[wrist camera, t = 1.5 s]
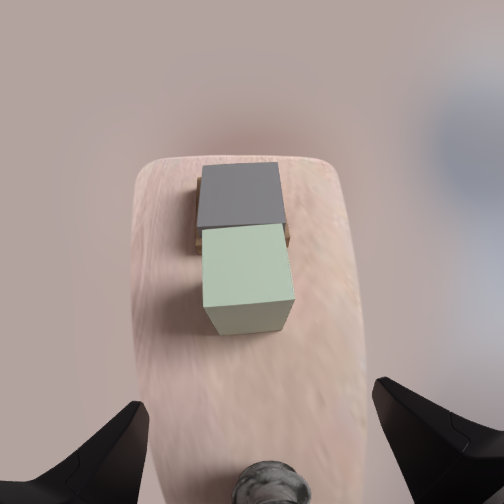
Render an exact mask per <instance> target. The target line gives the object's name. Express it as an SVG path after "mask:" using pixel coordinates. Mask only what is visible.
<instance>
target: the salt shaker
mask: <svg viewBox="0 0 504 504" xmlns="http://www.w3.org/2000/svg"><path fill="white" fill-rule="evenodd" d="M231 498H232V504H310V501H311V490H310V487H309V485H308V483H307V482H306V481H305V479H304V478H303V477H302V476H300V475H298V474H297V473H296V472H295V470H294V469H293V468H292V467H290V466H289V465H287V464H285V463H282V462H278V461H263V462H259V463H256V464H254V465H252V466H250V467H248V468H247V469H246V470H245V471H244V472H243V473H242V475H241V476H240V478H239V481H238V483H237V485H236V486H235V488H234V490H233V493H232V497H231Z"/></svg>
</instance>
